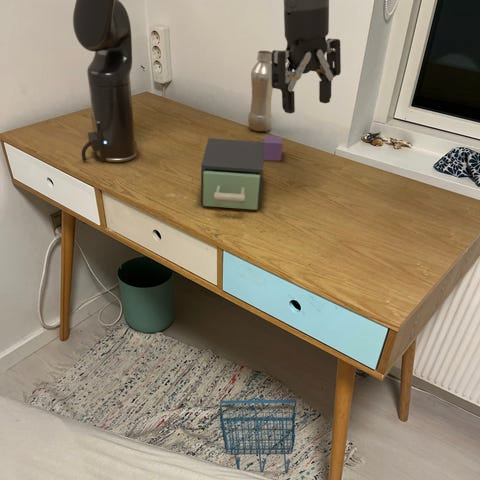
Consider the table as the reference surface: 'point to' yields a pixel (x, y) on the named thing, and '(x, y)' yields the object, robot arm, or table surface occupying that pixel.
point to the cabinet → (234, 158)
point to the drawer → (230, 189)
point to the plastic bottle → (261, 93)
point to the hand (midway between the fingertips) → (307, 107)
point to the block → (273, 148)
